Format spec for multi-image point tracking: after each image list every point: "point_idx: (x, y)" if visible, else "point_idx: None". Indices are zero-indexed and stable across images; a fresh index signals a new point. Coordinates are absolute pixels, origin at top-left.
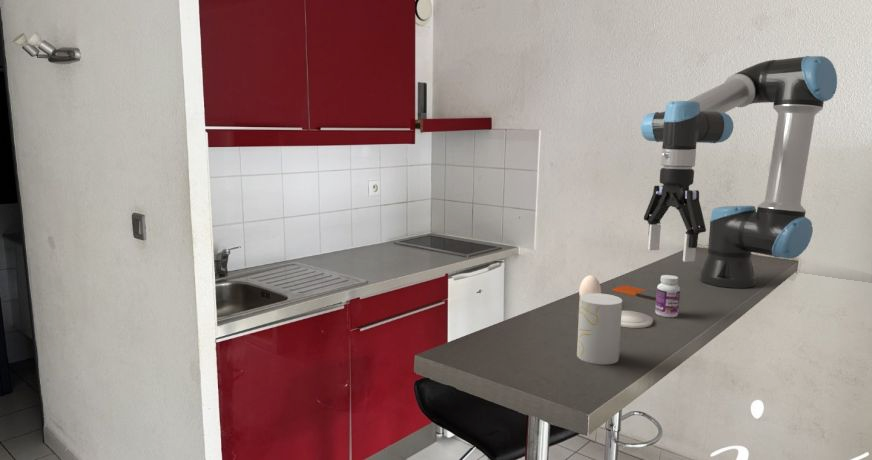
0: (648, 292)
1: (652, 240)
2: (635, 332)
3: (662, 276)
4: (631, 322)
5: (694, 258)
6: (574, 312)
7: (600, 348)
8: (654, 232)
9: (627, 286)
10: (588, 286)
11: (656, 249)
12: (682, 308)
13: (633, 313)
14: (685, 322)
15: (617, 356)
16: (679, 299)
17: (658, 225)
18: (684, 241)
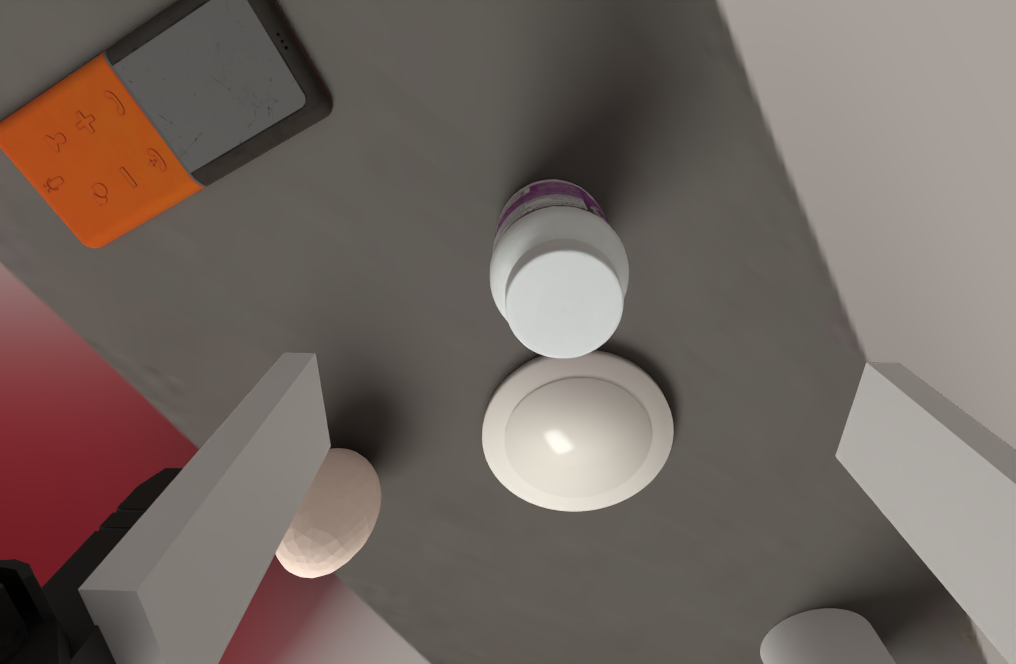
0: (167, 89)
1: (286, 496)
2: (700, 475)
3: (546, 350)
4: (641, 465)
5: (915, 381)
6: (432, 543)
7: None
8: (239, 564)
9: (26, 138)
10: (355, 553)
11: (316, 383)
12: (473, 67)
13: (547, 404)
14: (681, 221)
15: (879, 638)
16: (600, 211)
17: (159, 616)
18: (981, 624)
